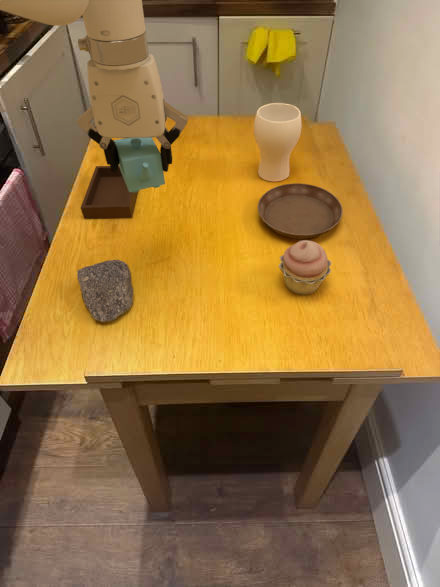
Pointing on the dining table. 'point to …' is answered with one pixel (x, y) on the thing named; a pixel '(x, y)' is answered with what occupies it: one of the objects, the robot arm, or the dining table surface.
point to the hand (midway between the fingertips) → (140, 167)
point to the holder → (108, 196)
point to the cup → (276, 138)
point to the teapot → (140, 163)
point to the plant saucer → (300, 210)
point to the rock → (106, 289)
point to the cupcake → (304, 267)
